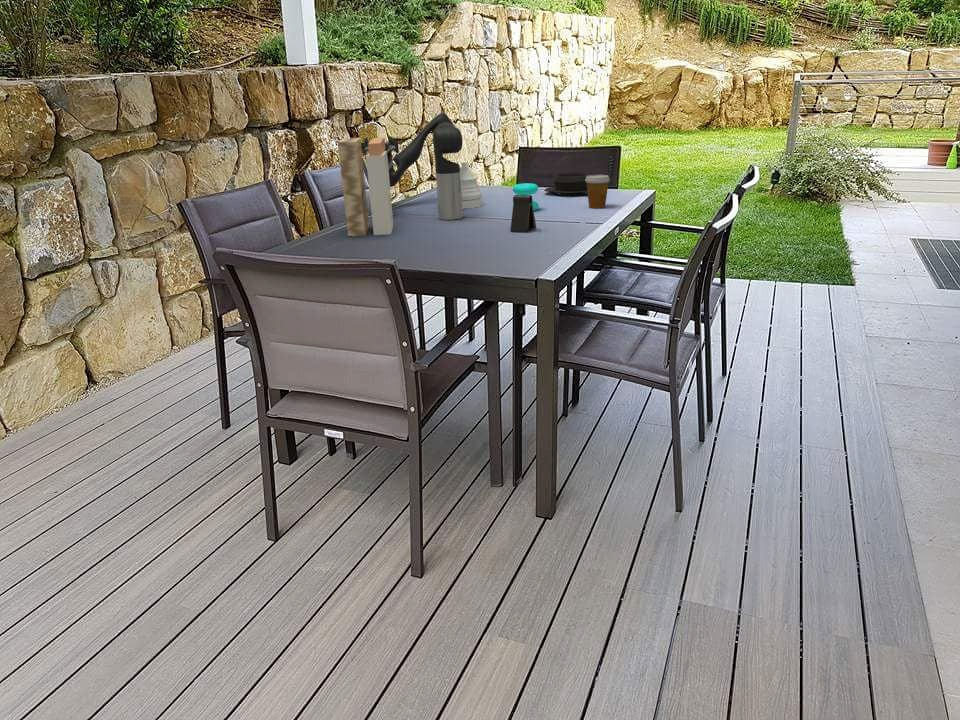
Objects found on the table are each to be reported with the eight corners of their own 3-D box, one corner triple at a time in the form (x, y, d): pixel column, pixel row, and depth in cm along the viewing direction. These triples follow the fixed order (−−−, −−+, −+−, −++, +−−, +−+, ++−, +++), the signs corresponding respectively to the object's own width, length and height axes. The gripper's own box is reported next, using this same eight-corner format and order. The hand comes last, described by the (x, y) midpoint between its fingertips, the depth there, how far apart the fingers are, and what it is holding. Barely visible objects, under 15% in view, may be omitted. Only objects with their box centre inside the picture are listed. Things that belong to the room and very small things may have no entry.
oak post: (369, 226, 277) (360, 137, 266) (365, 235, 262) (355, 141, 251) (353, 227, 277) (343, 138, 266) (348, 236, 262) (337, 142, 251)
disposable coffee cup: (608, 204, 298) (609, 174, 294) (610, 209, 289) (610, 177, 285) (584, 205, 299) (584, 175, 295) (585, 209, 290) (585, 178, 286)
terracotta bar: (385, 148, 276) (384, 137, 275) (380, 155, 254) (379, 143, 252) (374, 149, 276) (373, 138, 275) (369, 156, 254) (368, 143, 252)
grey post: (393, 225, 278) (386, 150, 268) (390, 234, 263) (383, 155, 253) (377, 226, 277) (370, 151, 268) (373, 235, 263) (366, 156, 253)
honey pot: (481, 208, 304) (479, 163, 297) (450, 209, 304) (447, 164, 298) (482, 203, 316) (480, 159, 309) (452, 204, 316) (449, 160, 310)
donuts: (540, 182, 295) (535, 186, 286) (540, 208, 298) (536, 212, 289) (515, 182, 297) (510, 186, 288) (516, 208, 301) (511, 212, 292)
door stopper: (526, 233, 254) (525, 197, 250) (510, 232, 257) (509, 197, 253) (536, 227, 262) (535, 193, 258) (520, 227, 264) (519, 192, 260)
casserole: (605, 191, 331) (605, 171, 328) (594, 198, 315) (594, 177, 312) (551, 190, 340) (551, 171, 337) (538, 196, 325) (537, 177, 322)
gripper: (401, 165, 293) (397, 147, 277) (365, 167, 293) (359, 149, 277) (400, 147, 294) (396, 128, 278) (364, 149, 294) (358, 130, 278)
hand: (377, 138), depth 277 cm, fingers open, 8 cm apart
